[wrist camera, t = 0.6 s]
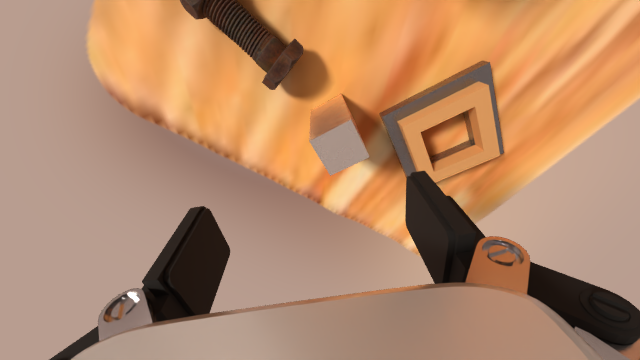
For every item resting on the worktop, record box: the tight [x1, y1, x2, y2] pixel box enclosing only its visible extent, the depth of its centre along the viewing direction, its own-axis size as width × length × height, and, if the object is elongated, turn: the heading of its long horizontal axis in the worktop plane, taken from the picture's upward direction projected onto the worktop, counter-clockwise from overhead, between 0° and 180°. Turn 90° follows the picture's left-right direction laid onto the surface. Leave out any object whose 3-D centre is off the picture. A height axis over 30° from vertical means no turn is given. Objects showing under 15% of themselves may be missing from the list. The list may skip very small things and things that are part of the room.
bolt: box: [180, 0, 303, 90], centre depth 25 cm, size 6×5×15 cm
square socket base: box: [380, 61, 504, 182], centre depth 32 cm, size 13×13×4 cm
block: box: [309, 94, 369, 176], centre depth 28 cm, size 4×4×10 cm
